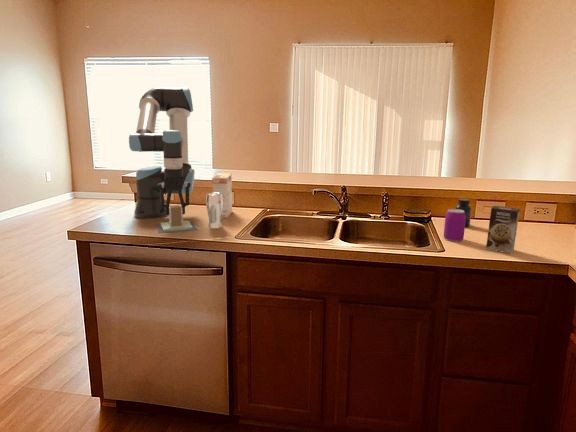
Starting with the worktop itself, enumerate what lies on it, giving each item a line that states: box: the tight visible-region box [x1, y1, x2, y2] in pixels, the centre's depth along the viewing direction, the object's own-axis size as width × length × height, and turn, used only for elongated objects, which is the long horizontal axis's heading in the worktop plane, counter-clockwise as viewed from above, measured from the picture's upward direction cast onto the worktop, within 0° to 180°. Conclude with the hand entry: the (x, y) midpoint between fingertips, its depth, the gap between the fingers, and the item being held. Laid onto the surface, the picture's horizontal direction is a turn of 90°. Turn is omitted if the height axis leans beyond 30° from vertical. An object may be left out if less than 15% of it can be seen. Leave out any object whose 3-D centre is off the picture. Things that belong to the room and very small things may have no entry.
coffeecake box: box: [211, 172, 233, 219], centre depth 213 cm, size 15×7×20 cm, turn 178°
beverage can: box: [443, 208, 466, 242], centre depth 177 cm, size 8×8×12 cm
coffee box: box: [485, 205, 521, 254], centre depth 163 cm, size 9×6×16 cm
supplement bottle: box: [454, 198, 472, 228], centre depth 199 cm, size 7×7×12 cm
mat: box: [155, 221, 199, 235], centre depth 189 cm, size 16×16×1 cm
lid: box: [159, 204, 193, 232], centre depth 188 cm, size 12×12×9 cm
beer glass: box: [205, 191, 223, 229], centre depth 189 cm, size 7×7×15 cm
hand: (176, 222), depth 188 cm, fingers closed on lid, 4 cm apart
